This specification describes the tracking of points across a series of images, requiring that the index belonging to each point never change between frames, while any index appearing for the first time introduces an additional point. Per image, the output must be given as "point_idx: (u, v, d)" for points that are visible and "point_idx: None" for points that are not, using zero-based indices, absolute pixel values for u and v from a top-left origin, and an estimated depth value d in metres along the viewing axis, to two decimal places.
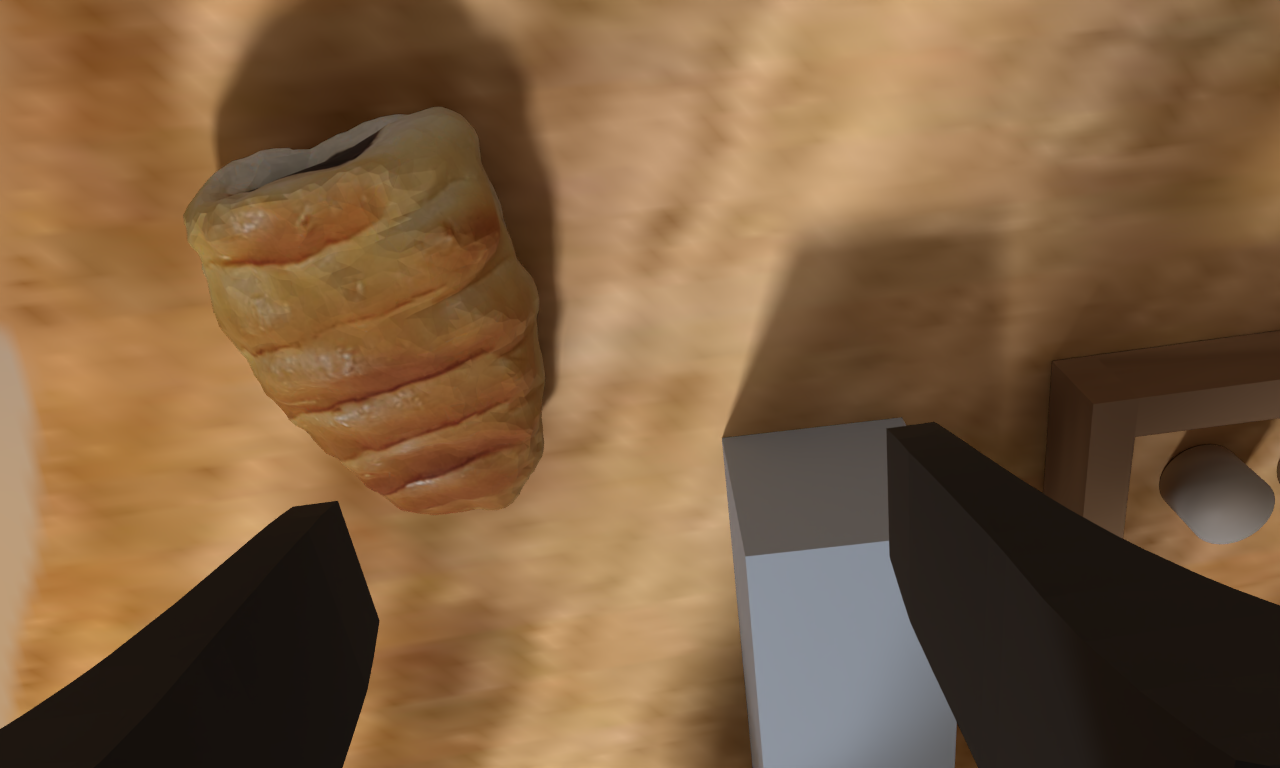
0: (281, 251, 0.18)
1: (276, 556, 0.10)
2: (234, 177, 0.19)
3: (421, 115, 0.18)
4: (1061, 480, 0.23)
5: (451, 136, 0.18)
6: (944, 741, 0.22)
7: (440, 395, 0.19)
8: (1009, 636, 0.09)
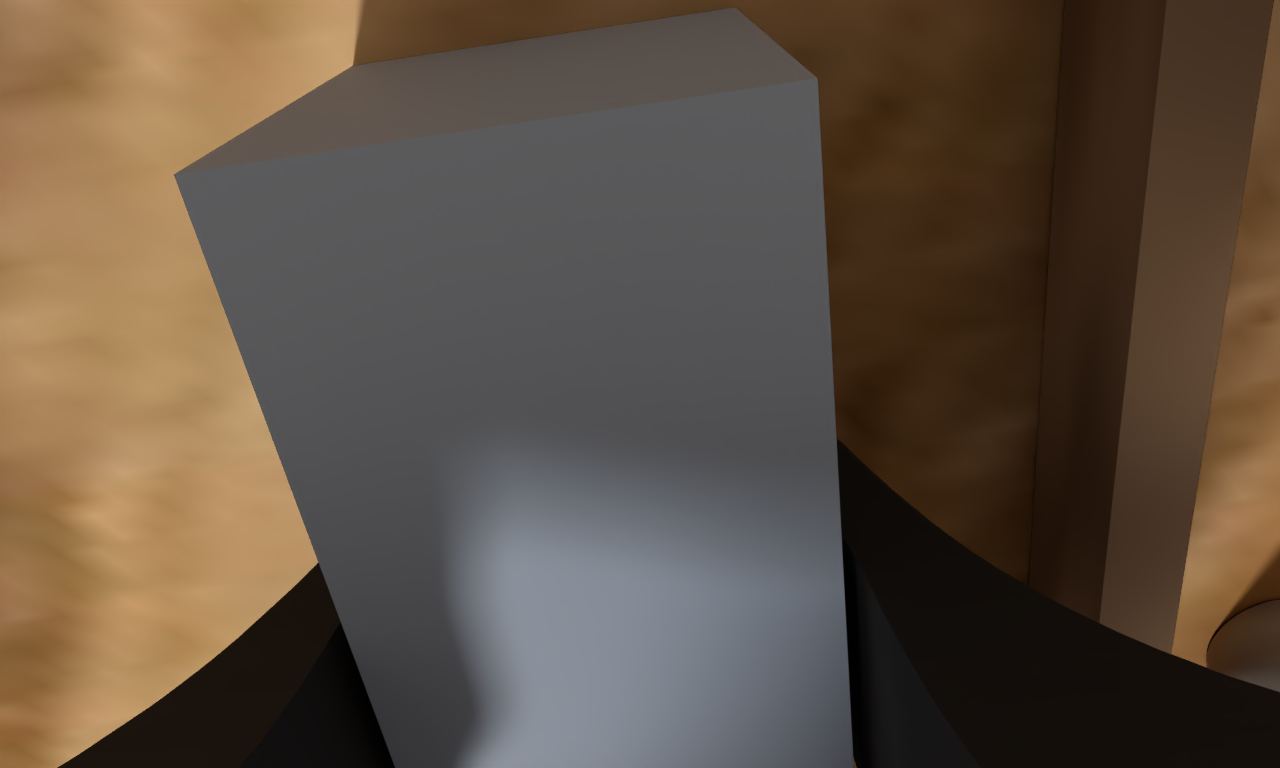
0: None
1: None
2: None
3: None
4: (1092, 136, 0.11)
5: None
6: (823, 716, 0.09)
7: None
8: (870, 653, 0.09)
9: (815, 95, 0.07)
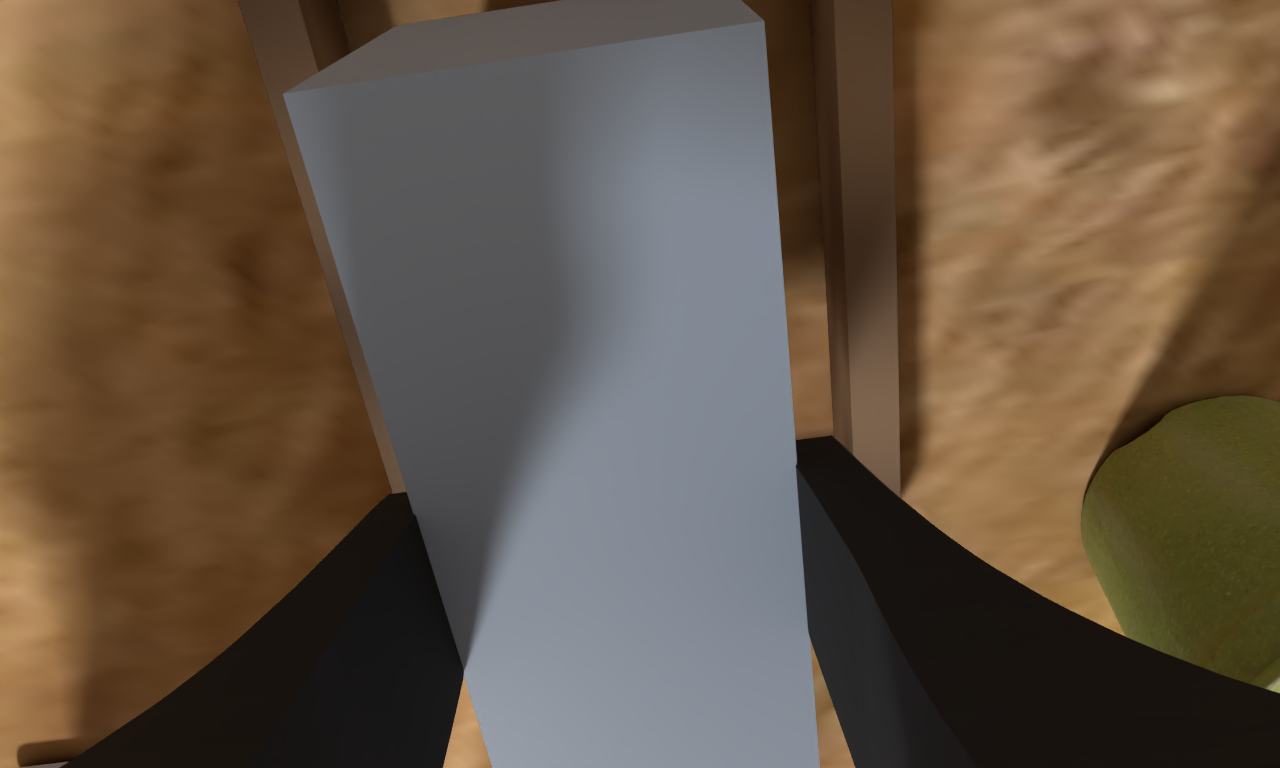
0: None
1: (387, 542, 0.10)
2: None
3: None
4: None
5: None
6: (780, 545, 0.11)
7: None
8: (868, 653, 0.09)
9: (762, 36, 0.09)
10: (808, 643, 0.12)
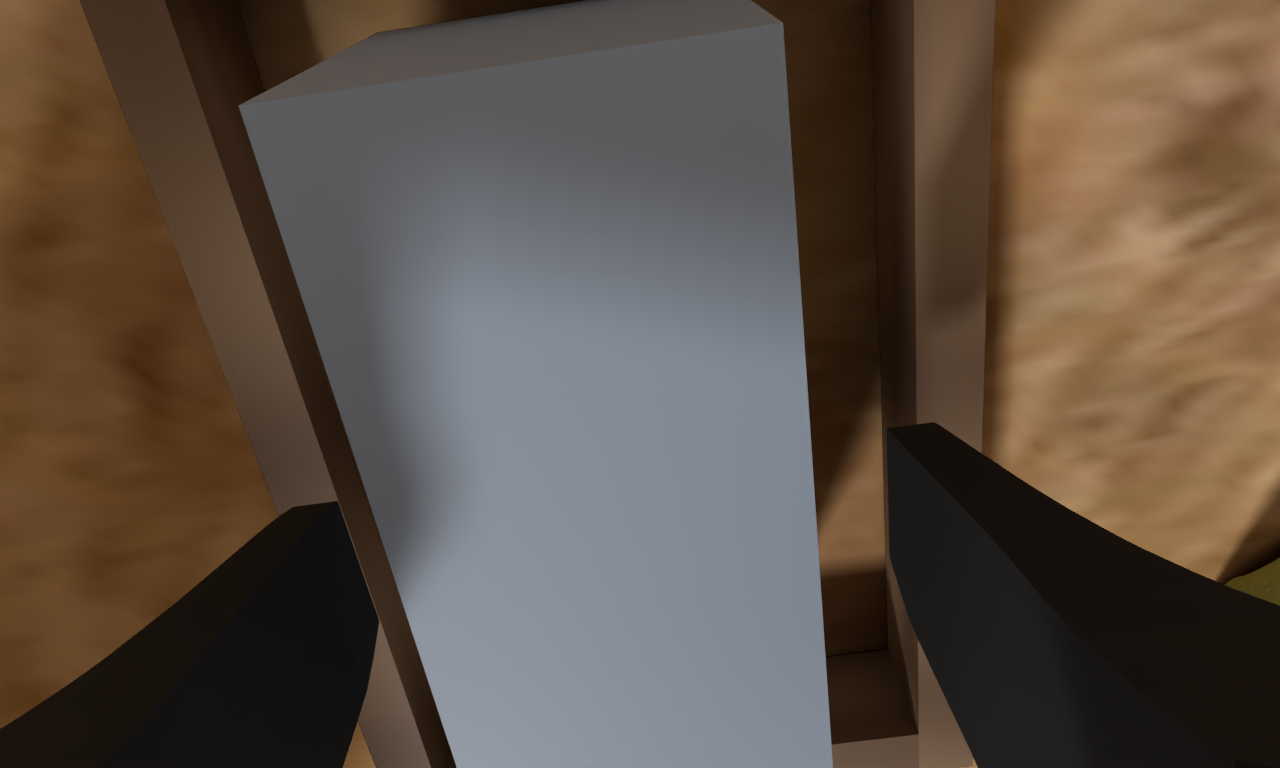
0: None
1: (276, 556, 0.10)
2: None
3: None
4: None
5: None
6: (797, 602, 0.10)
7: None
8: (1009, 636, 0.08)
9: (781, 39, 0.08)
10: (826, 706, 0.11)
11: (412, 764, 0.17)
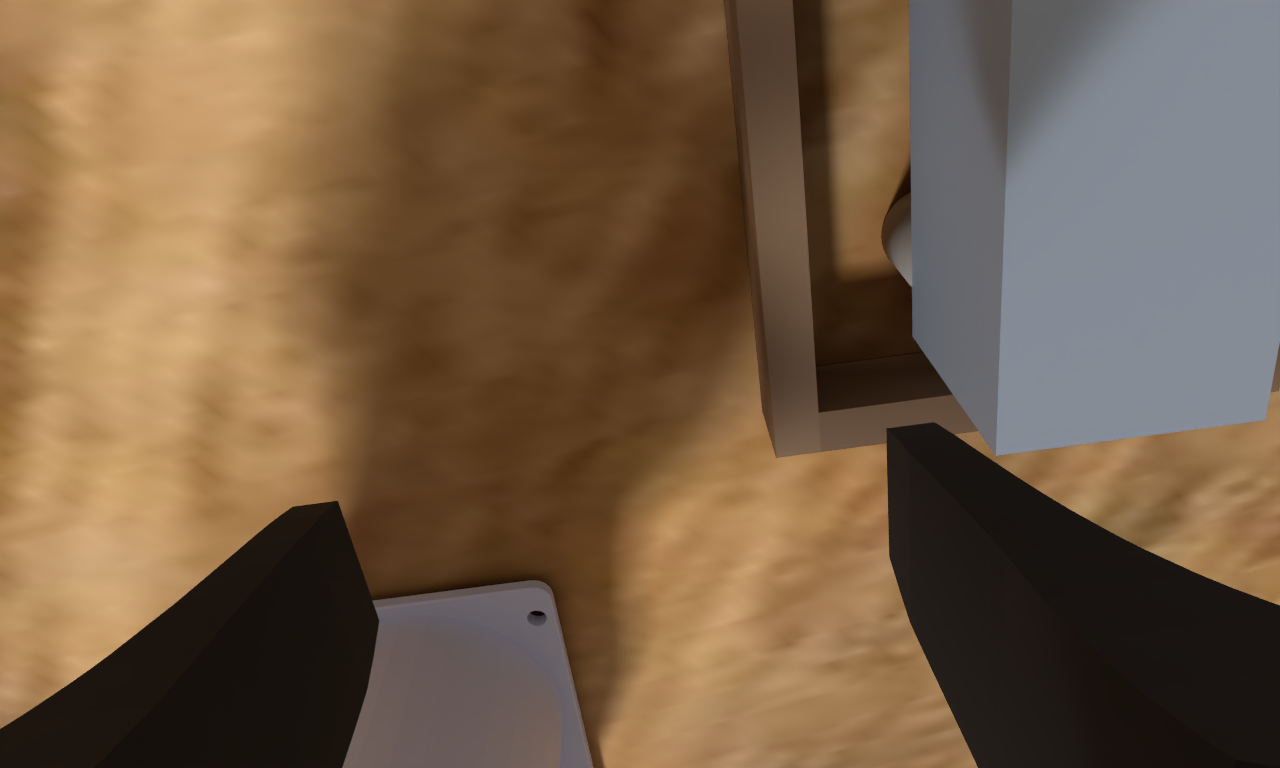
0: None
1: (276, 556, 0.10)
2: None
3: None
4: None
5: None
6: None
7: None
8: (1009, 636, 0.09)
9: None
10: None
11: (801, 384, 0.20)
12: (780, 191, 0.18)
